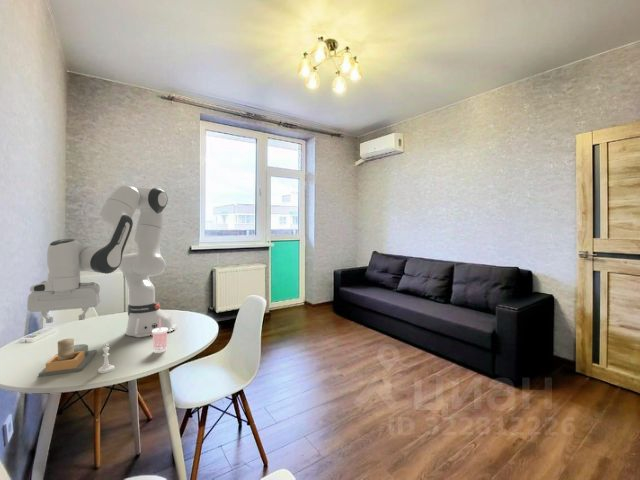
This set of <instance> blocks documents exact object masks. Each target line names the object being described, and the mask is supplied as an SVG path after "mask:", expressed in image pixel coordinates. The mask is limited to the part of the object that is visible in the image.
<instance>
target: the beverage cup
mask: <svg viewBox="0 0 640 480" xmlns="http://www.w3.org/2000/svg"><path fill="white" fill-rule="evenodd" d="M167 331H168V328H166V327H161V318H159V328H156V329H153V330H152V334H153V335H152V344H153V352H154V353H155V354H160V353H164V352H166V351H167V346H168V345H167V344H168V343H167V342H168V333H167ZM165 350H166V351H165Z"/></svg>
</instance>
